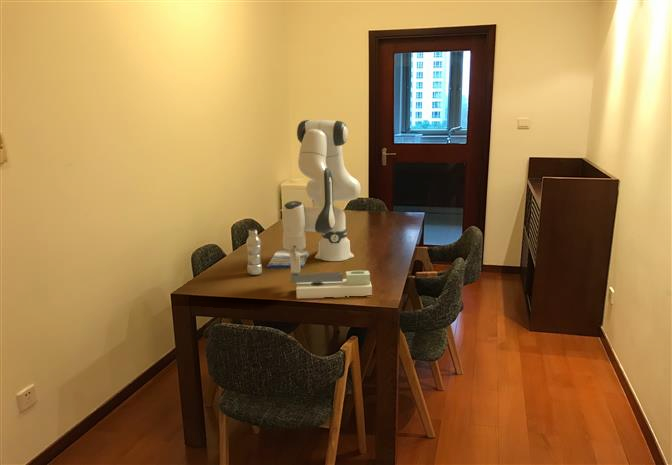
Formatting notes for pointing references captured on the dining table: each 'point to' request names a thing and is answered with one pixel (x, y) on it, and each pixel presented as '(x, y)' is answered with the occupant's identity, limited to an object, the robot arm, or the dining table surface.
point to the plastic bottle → (254, 253)
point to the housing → (331, 289)
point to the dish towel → (286, 260)
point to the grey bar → (316, 277)
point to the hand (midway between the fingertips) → (295, 276)
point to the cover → (357, 277)
